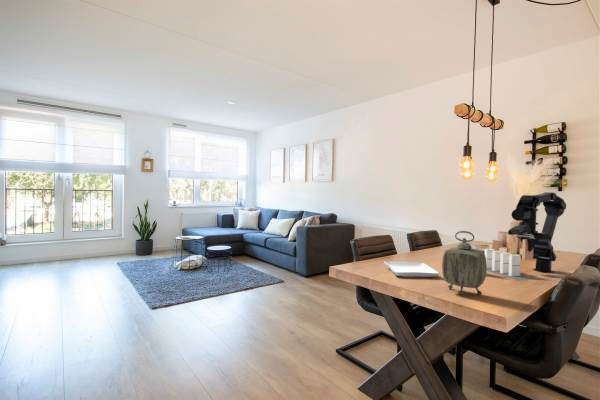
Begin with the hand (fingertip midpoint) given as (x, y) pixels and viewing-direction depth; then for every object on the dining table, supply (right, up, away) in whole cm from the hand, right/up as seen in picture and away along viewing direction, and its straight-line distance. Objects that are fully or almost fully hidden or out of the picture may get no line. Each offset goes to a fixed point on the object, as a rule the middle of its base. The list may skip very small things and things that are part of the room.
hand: (527, 251), depth 155 cm
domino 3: (-11, -11, 0) cm, 16 cm away
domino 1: (-13, -11, +10) cm, 20 cm away
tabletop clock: (-49, -12, -32) cm, 60 cm away
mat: (-11, -11, 0) cm, 16 cm away
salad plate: (-59, -11, 0) cm, 60 cm away
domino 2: (-12, -11, +5) cm, 17 cm away
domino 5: (0, -4, 0) cm, 4 cm away
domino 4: (-10, -11, -5) cm, 16 cm away
